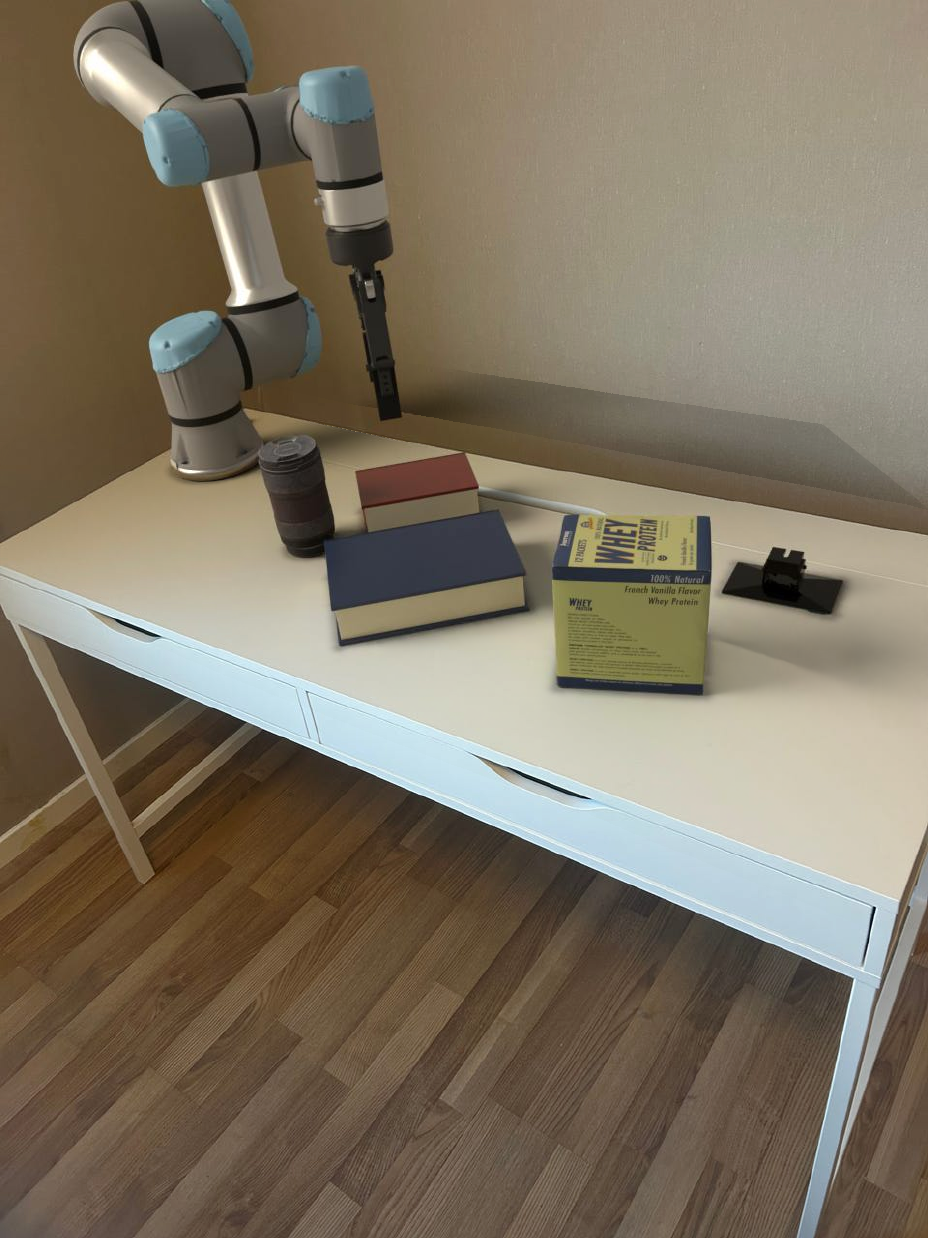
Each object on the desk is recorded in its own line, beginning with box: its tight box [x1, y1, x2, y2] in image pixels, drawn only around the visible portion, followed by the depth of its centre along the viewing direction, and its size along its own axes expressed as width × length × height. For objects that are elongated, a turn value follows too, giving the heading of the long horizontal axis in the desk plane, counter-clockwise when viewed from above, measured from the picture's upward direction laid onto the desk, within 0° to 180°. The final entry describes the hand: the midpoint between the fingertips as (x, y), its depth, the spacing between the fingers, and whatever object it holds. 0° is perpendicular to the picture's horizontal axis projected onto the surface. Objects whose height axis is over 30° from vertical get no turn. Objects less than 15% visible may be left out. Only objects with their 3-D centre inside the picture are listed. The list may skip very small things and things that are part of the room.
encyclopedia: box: [324, 508, 530, 647], centre depth 116 cm, size 16×23×6 cm
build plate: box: [721, 546, 844, 616], centre depth 109 cm, size 12×7×5 cm, turn 61°
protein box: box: [551, 514, 713, 696], centre depth 97 cm, size 10×16×16 cm
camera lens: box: [258, 434, 336, 558], centre depth 126 cm, size 8×8×15 cm
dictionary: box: [354, 451, 480, 533], centre depth 131 cm, size 11×16×6 cm
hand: (385, 398), depth 119 cm, fingers open, 13 cm apart
